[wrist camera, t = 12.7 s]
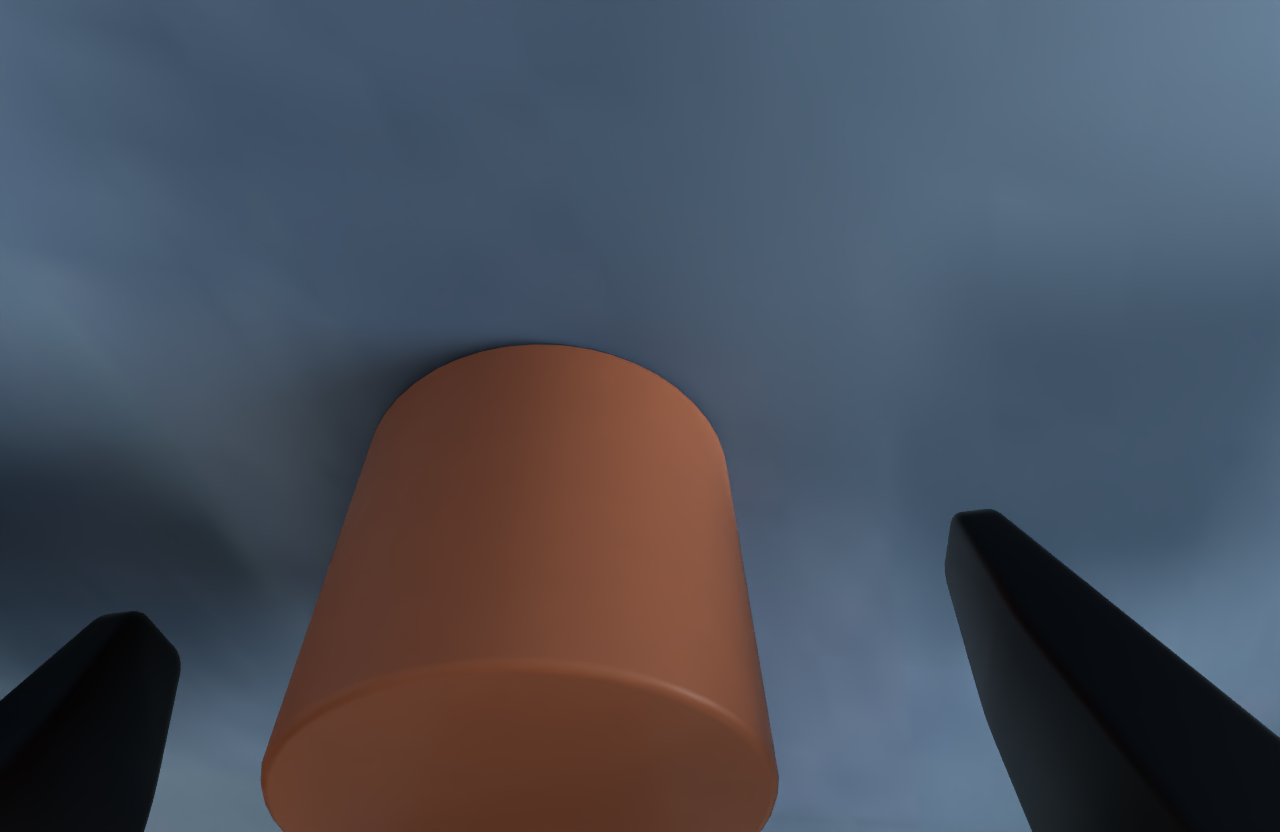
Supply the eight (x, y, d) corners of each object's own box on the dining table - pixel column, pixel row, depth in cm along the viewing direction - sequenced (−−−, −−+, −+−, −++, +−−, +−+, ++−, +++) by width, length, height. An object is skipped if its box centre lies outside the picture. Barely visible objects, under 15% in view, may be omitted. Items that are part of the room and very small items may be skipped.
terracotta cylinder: (738, 578, 11) (787, 887, 8) (433, 614, 12) (369, 927, 8) (711, 313, 8) (769, 634, 5) (310, 370, 9) (149, 703, 6)
